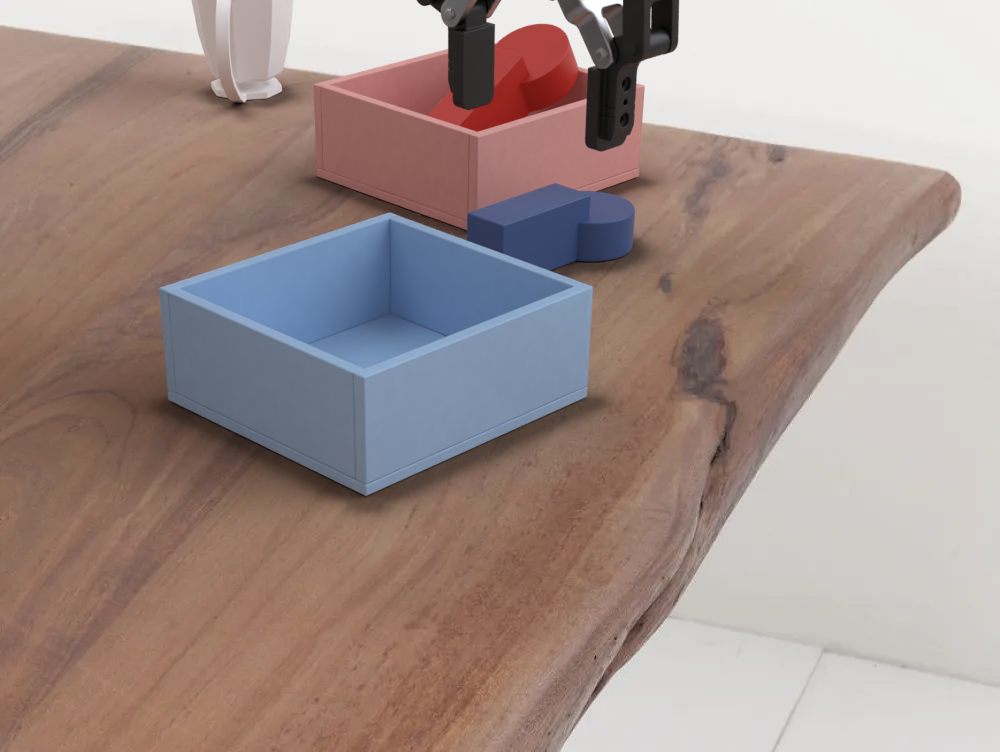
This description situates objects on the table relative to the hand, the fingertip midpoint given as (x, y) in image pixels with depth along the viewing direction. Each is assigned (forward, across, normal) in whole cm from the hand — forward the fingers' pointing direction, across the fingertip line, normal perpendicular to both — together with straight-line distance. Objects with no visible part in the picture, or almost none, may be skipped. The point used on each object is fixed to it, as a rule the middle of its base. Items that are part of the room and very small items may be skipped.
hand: (538, 125), depth 89 cm
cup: (+7, -31, +8) cm, 33 cm away
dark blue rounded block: (+7, 0, +2) cm, 7 cm away
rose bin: (+7, -11, +8) cm, 15 cm away
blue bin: (+7, +6, -16) cm, 18 cm away
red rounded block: (+4, -11, +10) cm, 16 cm away
